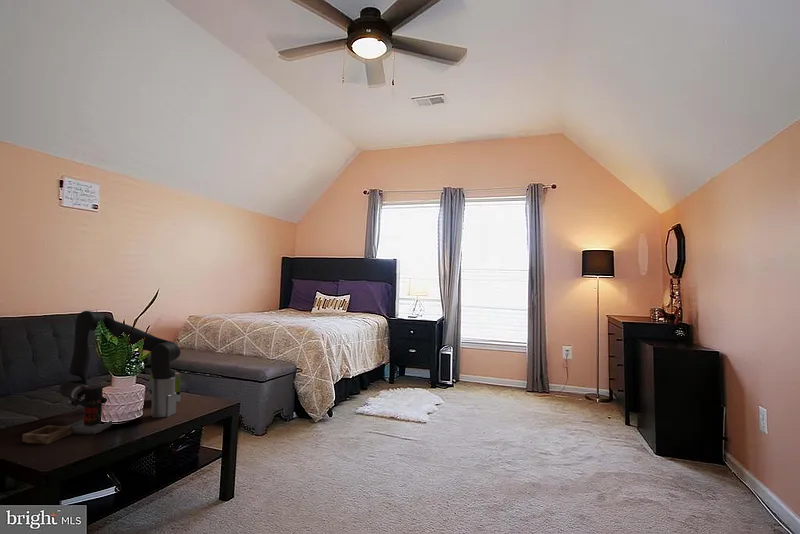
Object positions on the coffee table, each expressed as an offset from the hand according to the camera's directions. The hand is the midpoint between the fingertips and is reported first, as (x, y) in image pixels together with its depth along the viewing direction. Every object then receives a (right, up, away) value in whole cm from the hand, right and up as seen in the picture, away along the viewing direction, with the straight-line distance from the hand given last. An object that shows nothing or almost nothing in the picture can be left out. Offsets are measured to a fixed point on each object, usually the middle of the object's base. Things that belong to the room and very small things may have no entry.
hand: (95, 402), depth 175 cm
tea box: (+5, -13, +43) cm, 45 cm away
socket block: (-11, -10, -11) cm, 19 cm away
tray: (-2, -11, +1) cm, 11 cm away
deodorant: (-2, -9, +1) cm, 10 cm away
